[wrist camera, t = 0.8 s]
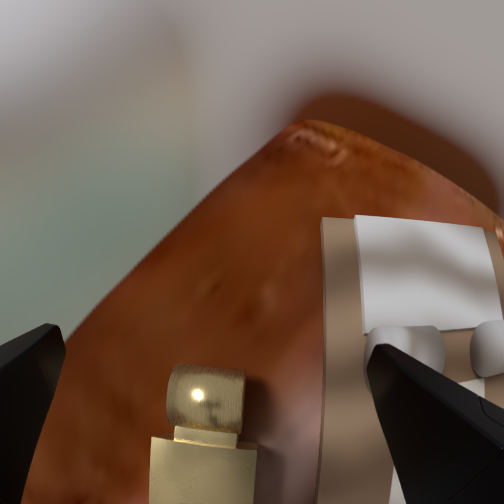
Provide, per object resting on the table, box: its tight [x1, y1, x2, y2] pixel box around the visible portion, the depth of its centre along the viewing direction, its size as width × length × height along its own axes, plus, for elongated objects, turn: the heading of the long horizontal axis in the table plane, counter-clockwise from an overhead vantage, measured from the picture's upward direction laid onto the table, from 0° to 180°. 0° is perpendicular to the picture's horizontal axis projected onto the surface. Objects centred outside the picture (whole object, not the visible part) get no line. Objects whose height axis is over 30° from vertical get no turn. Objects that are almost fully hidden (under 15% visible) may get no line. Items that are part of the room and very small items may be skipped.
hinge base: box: [314, 215, 504, 504], centre depth 16 cm, size 24×18×5 cm
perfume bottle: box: [149, 363, 258, 504], centre depth 14 cm, size 13×6×4 cm, turn 176°
